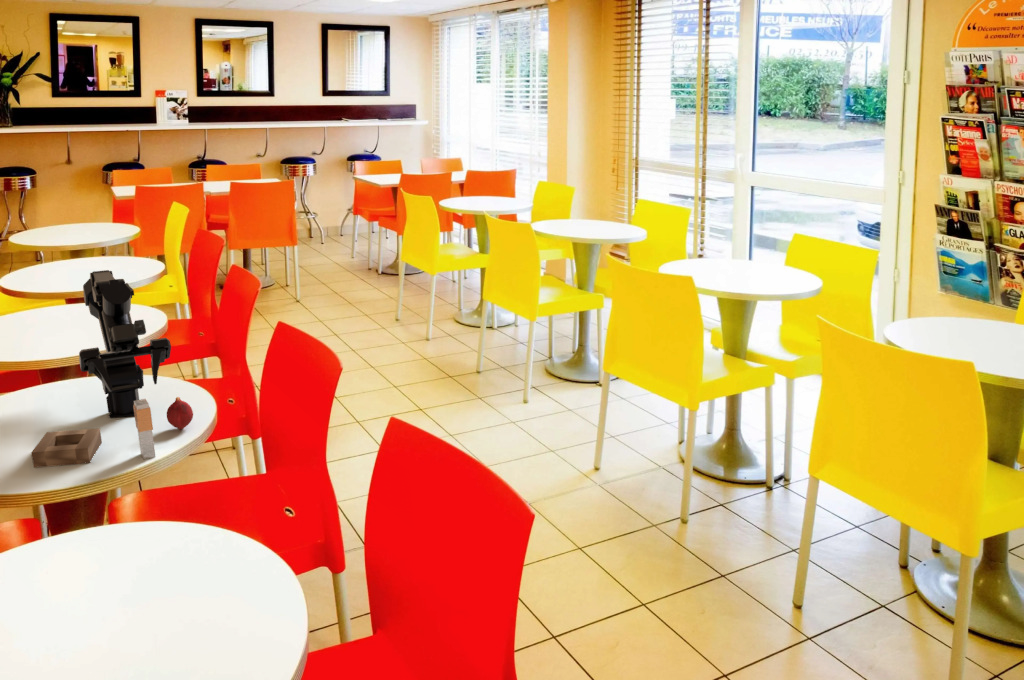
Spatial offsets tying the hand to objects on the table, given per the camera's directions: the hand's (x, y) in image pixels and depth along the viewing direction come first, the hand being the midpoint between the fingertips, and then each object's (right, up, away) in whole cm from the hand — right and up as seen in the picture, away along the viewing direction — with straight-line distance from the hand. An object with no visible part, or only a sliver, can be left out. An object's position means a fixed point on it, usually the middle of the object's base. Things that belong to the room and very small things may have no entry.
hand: (133, 387), depth 189 cm
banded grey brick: (+4, -15, -2) cm, 16 cm away
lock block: (-13, -15, -2) cm, 20 cm away
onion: (+6, -11, +12) cm, 17 cm away
